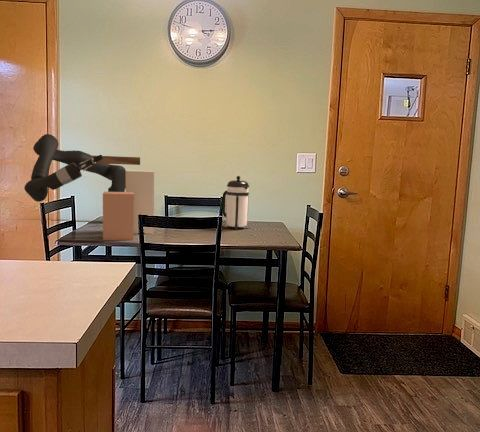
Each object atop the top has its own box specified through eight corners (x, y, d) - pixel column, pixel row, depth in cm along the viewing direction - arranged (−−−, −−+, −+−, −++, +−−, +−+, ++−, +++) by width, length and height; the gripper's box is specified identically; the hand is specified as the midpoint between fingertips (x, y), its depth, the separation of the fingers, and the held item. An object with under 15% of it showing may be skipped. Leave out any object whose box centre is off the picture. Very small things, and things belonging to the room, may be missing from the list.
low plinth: (104, 236, 220) (104, 191, 217) (133, 235, 223) (133, 192, 220) (103, 240, 210) (102, 193, 207) (133, 239, 213) (133, 194, 210)
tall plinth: (126, 230, 237) (126, 170, 232) (152, 230, 240) (153, 170, 235) (125, 233, 227) (125, 171, 222) (153, 233, 230) (154, 171, 225)
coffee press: (250, 226, 264) (252, 175, 260) (248, 231, 248) (250, 177, 244) (221, 224, 266) (223, 174, 261) (217, 229, 250) (219, 175, 246)
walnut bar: (92, 162, 210) (92, 155, 210) (140, 164, 215) (140, 157, 215) (91, 163, 207) (91, 155, 206) (140, 164, 212) (140, 157, 211)
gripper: (61, 167, 199) (96, 149, 201) (66, 166, 213) (99, 149, 215) (70, 182, 201) (105, 164, 203) (75, 179, 215) (107, 163, 217)
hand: (101, 156), depth 209 cm, fingers closed on walnut bar, 3 cm apart
